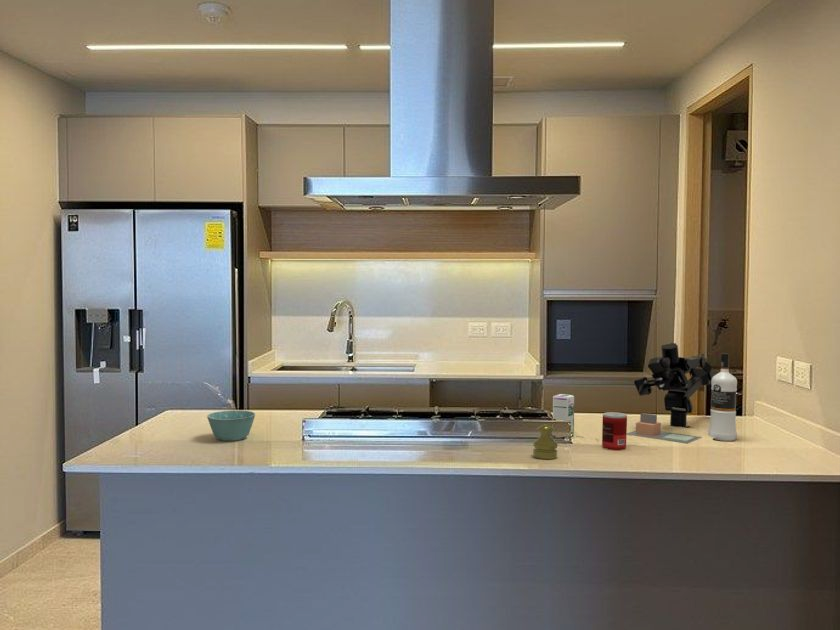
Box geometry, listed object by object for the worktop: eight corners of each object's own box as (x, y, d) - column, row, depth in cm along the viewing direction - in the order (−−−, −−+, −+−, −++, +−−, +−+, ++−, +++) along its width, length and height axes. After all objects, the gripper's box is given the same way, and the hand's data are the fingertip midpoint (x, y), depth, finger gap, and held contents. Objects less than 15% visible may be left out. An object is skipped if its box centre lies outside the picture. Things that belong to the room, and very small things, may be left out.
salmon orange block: (643, 430, 266) (643, 411, 266) (660, 433, 262) (661, 414, 262) (635, 433, 261) (636, 414, 261) (653, 436, 257) (653, 416, 257)
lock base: (641, 431, 271) (641, 421, 271) (702, 440, 257) (702, 430, 257) (624, 437, 260) (625, 427, 260) (687, 446, 246) (687, 436, 246)
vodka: (742, 440, 257) (745, 354, 255) (722, 442, 253) (725, 354, 252) (722, 435, 265) (725, 351, 264) (702, 437, 262) (704, 352, 260)
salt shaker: (531, 453, 233) (532, 422, 232) (555, 454, 233) (556, 422, 232) (534, 459, 226) (535, 426, 225) (559, 460, 225) (559, 427, 225)
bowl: (220, 446, 238) (220, 420, 238) (199, 437, 250) (199, 413, 250) (263, 439, 248) (264, 415, 248) (241, 432, 260) (241, 408, 260)
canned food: (628, 446, 245) (628, 413, 245) (623, 451, 238) (624, 417, 238) (604, 443, 249) (605, 411, 248) (599, 448, 241) (600, 415, 241)
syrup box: (567, 438, 256) (568, 396, 255) (551, 436, 259) (552, 395, 259) (574, 436, 261) (575, 394, 260) (558, 433, 264) (559, 393, 263)
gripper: (637, 360, 276) (619, 375, 265) (683, 349, 263) (666, 364, 251) (649, 387, 276) (631, 404, 265) (695, 377, 263) (678, 394, 252)
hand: (651, 391), depth 258 cm, fingers open, 9 cm apart
